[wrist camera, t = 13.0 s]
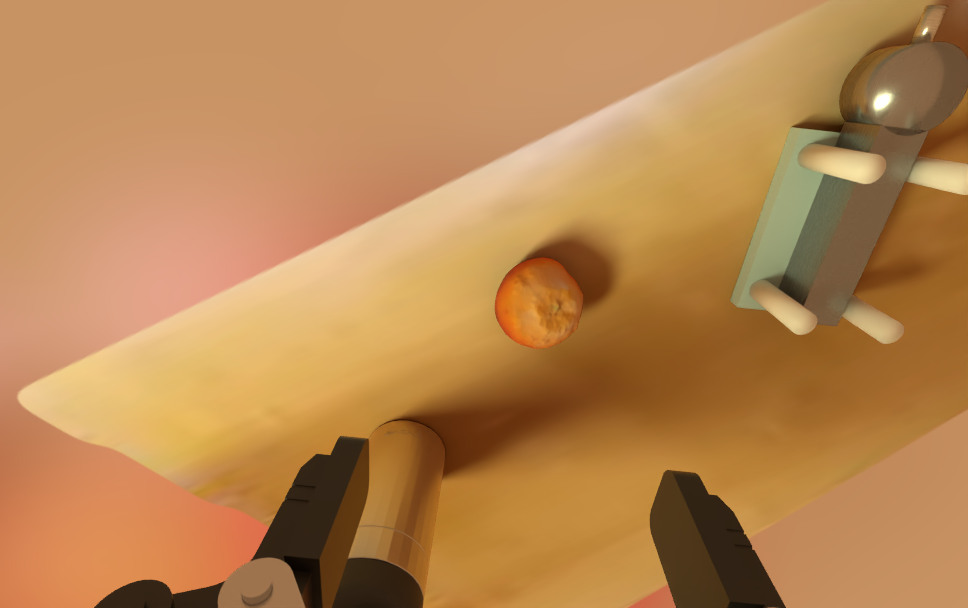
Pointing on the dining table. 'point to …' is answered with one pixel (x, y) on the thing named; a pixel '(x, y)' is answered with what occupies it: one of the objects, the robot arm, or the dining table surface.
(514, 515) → the dining table surface
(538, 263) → the fruit
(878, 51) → the ball-topped lever
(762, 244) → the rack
